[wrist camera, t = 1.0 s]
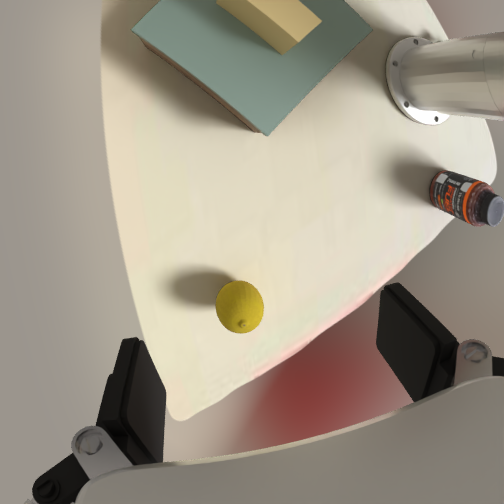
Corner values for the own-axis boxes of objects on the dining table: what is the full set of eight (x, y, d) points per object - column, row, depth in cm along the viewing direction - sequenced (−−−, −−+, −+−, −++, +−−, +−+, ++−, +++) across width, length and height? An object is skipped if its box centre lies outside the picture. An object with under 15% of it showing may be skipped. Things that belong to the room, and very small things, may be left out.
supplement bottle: (424, 177, 39) (481, 197, 28) (451, 164, 39) (507, 180, 28) (431, 214, 41) (484, 241, 31) (457, 200, 41) (509, 223, 31)
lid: (251, -65, 19) (261, -95, 14) (368, 31, 25) (400, 18, 20) (133, 32, 22) (118, 12, 17) (265, 136, 28) (281, 138, 23)
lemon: (264, 280, 41) (279, 314, 33) (243, 313, 42) (253, 351, 35) (226, 263, 39) (233, 295, 32) (206, 298, 40) (209, 336, 33)
